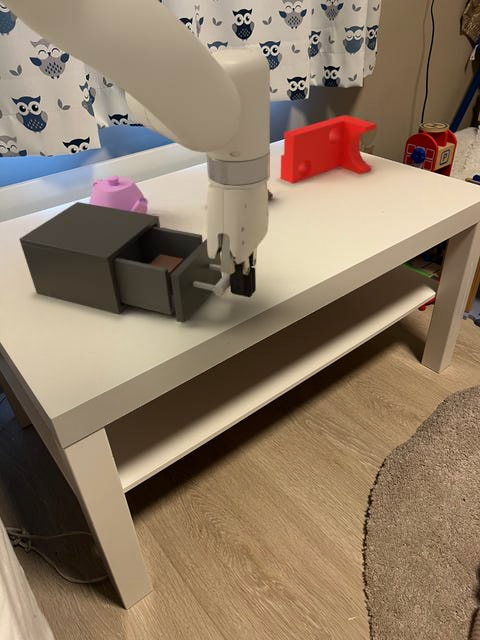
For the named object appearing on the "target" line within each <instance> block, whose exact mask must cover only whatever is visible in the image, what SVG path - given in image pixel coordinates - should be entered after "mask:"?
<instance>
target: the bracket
mask: <svg viewBox="0 0 480 640" xmlns="http://www.w3.org/2000/svg"><path fill="white" fill-rule="evenodd" d="M376 128H377V123H374V122H371V121H367V120H364V119H361V118H356V117H353V116H349V115H347V114H343V115H340V116H337V117H336V116H335V117H334V118H330V119H326V120H323V121H319V122H316V123H312V124H309V125H306V126H301V127H299V128H294V129H292V130H288V131H285V132H284V137H283V139H284V140H283V154H282V155H280V179H281V180H284V181H285V182H288V183H290V184H295V183H297V182H301V181H304V180H307V179H309V178H312V177H315V176H318V175H320V174H324V173H326V172H328V171H331V170H334V169H338V168H342V169H345V170H348V171H351V172H354V173H356V174H359V175H363V174H365V173H368V172H370V171H371V169H372V165H370V164H368V163H367V162H366V161H365V159H364V158H363V157H362V154H361V150H360V141H361V139H362V138H361V137H362V136H363V134H364V133H367V132H371V131H374V130H376Z"/></svg>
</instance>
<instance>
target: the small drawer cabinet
mask: <svg viewBox="0 0 480 640" xmlns="http://www.w3.org/2000/svg"><path fill="white" fill-rule="evenodd" d="M160 223H161V222H160V217H159V215H153V214H149V213H146V214H143V213H137V212H132V211H126V210H120V209H114V208H109V207H103V206H97V205H92V204H89V203H85V202H80V201H76V202H75V203H74V204H72V205H70V206H69V207H67V208H65V209H64V210H62V211H61V212H59V213H57V214H56V215H55V216H52V217H51V218H50V219H48V220H47V221H45V222H44V223H42V224H41V225H39V226H37V227H36V228H34V229H32V230H30V231H29V232H28V233H26V234H24V235H23V236H21V237H20V238H19V243H20V246H21V249H22V252H23V255H24V258H25V262H26V264H27V267H28V270H29V274H30V278H31V281H32V283H33V286H34V289H35V292H36V294H40V295H42V296H46V297H50V298H54V299H59V300H61V301H62V300H63V301H66V302H69V303H73V304H78V305H81V306H86V307H90V308H93V309H97V310H101V311H104V312H109V313H112V314H116V315H120V314H121V313H122V312H124V311H125V310H126V309H127V307H129V306H130V305H129V304H125V303H121V302H120V298H119V293H118V288H117V284H116V279H115V274H114V269H113V264H112V259H113V258H115V257H116V256H117V255H118V254H119V253H121V252H122V251H123V250H124V249H125V248H127V247H128V246H129V245H130V244H132V243H133V242H134V241H135V240H136V239H138V238H139V237H140V236H141V235H142V234H144V233H145V232H146V231H147V230H149V229H150V228H151V227H152V226H156V227H161V224H160Z"/></svg>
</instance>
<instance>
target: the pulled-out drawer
mask: <svg viewBox="0 0 480 640" xmlns="http://www.w3.org/2000/svg"><path fill="white" fill-rule="evenodd" d="M160 254H162V255H167V256H171V257H176V258H181V259H183V260H184V262H183V263H182V264H181V265H180V266H179V267H178V268H177V269H176V270H175V271H174V272H173V273H172V274H171V281H172V288H173V295H171V290H170V283H169V275H168V269H167V268H163V267H158V266H154V265H149V264H150V263H151V262H152V261H153V260H154V259H156V258H157V257H158V256H159V255H160ZM112 264H113V269H114V274H115V279H116V284H117V288H118V293H119V298H120V302H121V303H125V304H129V305H128V306H133V307H137V308H142V309H146V310H149V311H154V312H157V313H162V314H165V315H169V316H171V315H172V314H174V312H175V318H176V322H178V323H182V324H185V323H186V322H187V321H188V320H189V318H190V317H191V316H192V315H193V313H194V312H195V311H196V310H197V309H198V308H199V307H200V305H201V304H202V303H203V302H204V300H206V298H207V297H208V296H209V295H210V294H211V293H212V292H213V293H214V295H216V296H218V297H221V296H223V295H224V294H225V292H226V291H227V290H228V289H229V288H230V275H228V274H223V273H221V272H220V269H221V253H220V254H219V255H218V256H217V257H216V258H215V259H210V258H209V256H208V250H207V238H206V239H205V240H204V239H203V235H202V234H199V233H195V232H188V231H184V230H177V229H172V228H166V227H161V226H160V227H156V226H152V227H151V228H150V229H149V230H147V231H146V232H145V233H144V234H142V235H141V236H140V237H139V238H138V239H136V240H135V241H134V242H133V243H132V244H130V245H129V246H128V247H127V248H125V249H124V250H123V251H122V252H121V253H119V254H118V255H117V256H116V257H115V258H113V259H112Z"/></svg>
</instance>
